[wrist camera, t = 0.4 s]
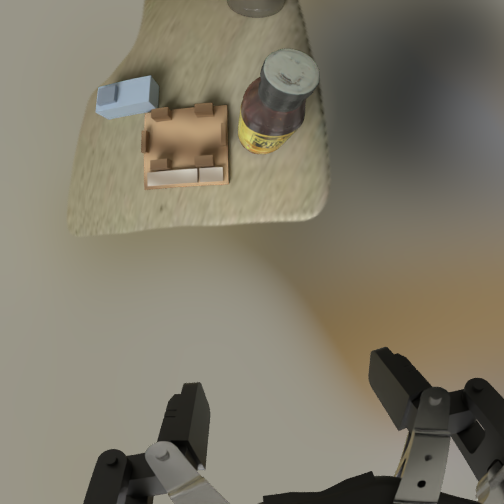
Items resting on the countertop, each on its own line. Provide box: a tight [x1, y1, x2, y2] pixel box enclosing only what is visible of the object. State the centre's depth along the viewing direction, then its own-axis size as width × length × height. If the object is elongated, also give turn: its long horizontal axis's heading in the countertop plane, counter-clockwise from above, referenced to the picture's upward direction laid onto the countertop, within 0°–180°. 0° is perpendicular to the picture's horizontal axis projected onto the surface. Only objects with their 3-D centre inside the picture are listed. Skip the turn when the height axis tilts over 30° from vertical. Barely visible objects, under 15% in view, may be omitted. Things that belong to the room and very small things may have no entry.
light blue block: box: [96, 75, 159, 119], centre depth 30 cm, size 4×8×6 cm, turn 91°
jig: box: [141, 103, 229, 190], centre depth 33 cm, size 11×12×4 cm
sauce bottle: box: [238, 49, 320, 154], centre depth 25 cm, size 7×6×20 cm
